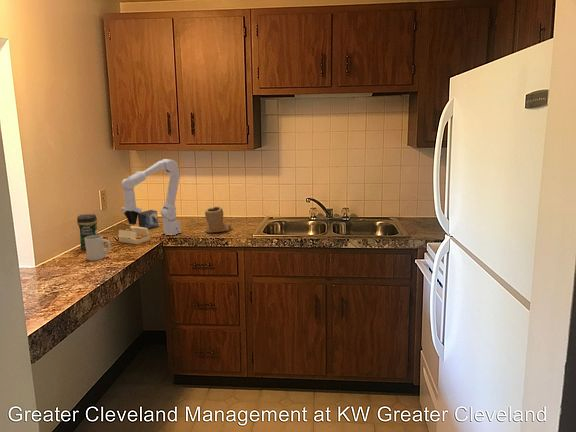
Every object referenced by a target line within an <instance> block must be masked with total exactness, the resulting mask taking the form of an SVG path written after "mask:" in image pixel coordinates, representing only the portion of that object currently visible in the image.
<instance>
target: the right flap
mask: <svg viewBox="0 0 576 432" xmlns="http://www.w3.org/2000/svg"><path fill="white" fill-rule="evenodd" d="M129 227H130V231H133V232H137V234H141V235H148V236H150V234H151V233H150V231H149V230H150V229H148V228H144V227H139V226H137V225H136V226H135V225H131V226H129Z"/></svg>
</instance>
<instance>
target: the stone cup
mask: <svg viewBox="0 0 576 432" xmlns="http://www.w3.org/2000/svg"><path fill="white" fill-rule="evenodd" d="M204 216H205V219H206V222H207V225H208V227H206V228H205V232H206V233H210V234H211V233H219V232H230V231H231V228H232V224H225V223H224V211H223V208H222V207H221V206H213V207H209V208H207V209H205V211H204Z"/></svg>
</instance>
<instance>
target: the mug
mask: <svg viewBox="0 0 576 432" xmlns="http://www.w3.org/2000/svg"><path fill="white" fill-rule="evenodd" d="M105 243H106V244H107V246H108V248H107V249H105ZM85 246H86V249H85V251H86V252H85V253H86V259H87V261H90V262H91V261H99V260H100V261H101V260H103V259H105V258H106V254H107V253H109V252H111V249H112V248H111V247H112V246H111V243H110V240H109V239H106V238H104V237H103V235H101V234H98V235H92V236H88V237H85Z"/></svg>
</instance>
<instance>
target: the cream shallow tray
mask: <svg viewBox="0 0 576 432" xmlns="http://www.w3.org/2000/svg"><path fill="white" fill-rule="evenodd" d="M137 236H141V237H144V238H141V239H128V238H124V237H118V240H119V241H118V242H119V243H124V244H130V245H140V244H143V243H146V242H148V241H151V235H145V234H138V233H137Z"/></svg>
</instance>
